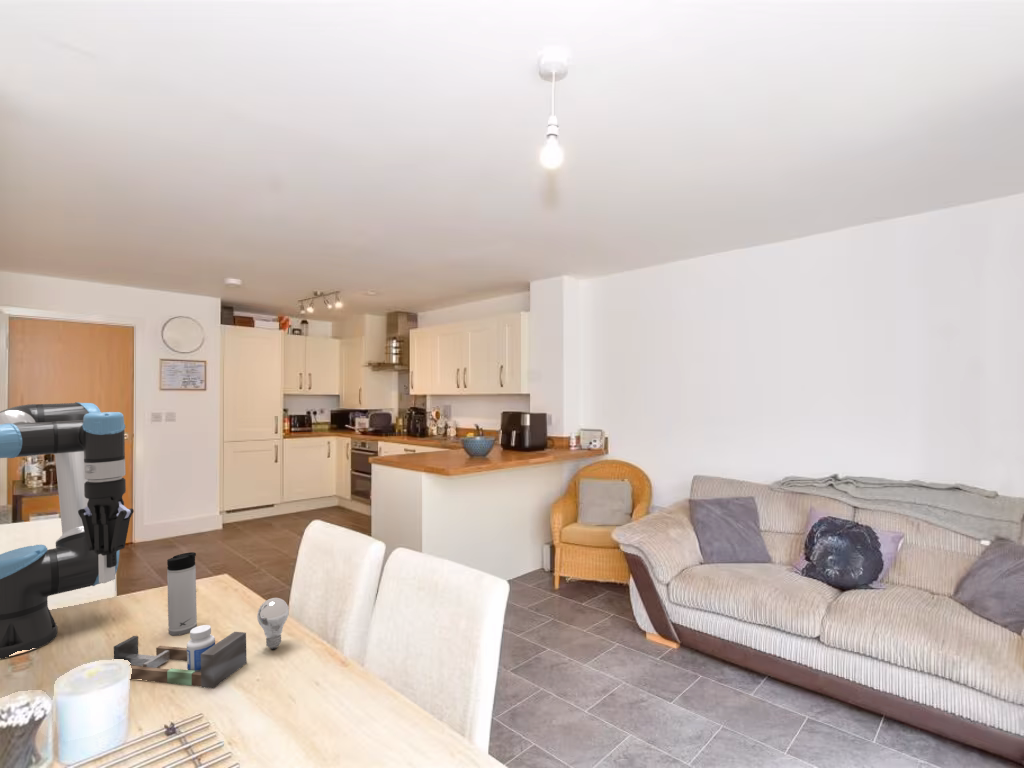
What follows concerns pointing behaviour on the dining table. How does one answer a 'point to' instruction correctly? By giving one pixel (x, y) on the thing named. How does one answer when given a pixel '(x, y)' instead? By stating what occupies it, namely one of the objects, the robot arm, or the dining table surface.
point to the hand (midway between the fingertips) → (107, 580)
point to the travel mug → (181, 594)
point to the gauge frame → (213, 664)
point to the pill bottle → (198, 646)
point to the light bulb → (273, 620)
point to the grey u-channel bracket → (130, 653)
